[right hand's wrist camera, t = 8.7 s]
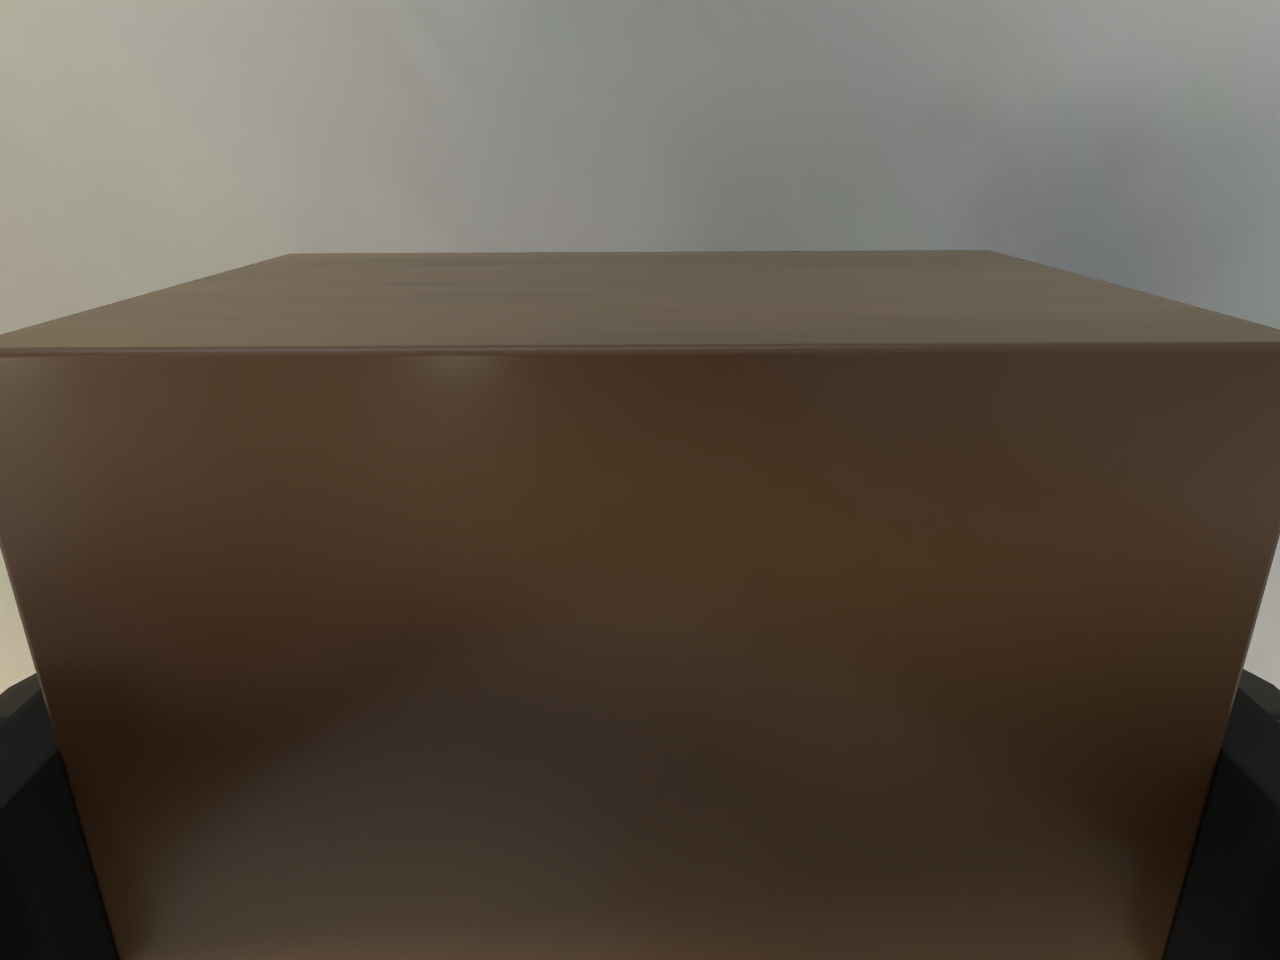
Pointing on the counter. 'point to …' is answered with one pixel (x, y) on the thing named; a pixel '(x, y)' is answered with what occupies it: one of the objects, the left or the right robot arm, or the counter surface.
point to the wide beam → (640, 602)
